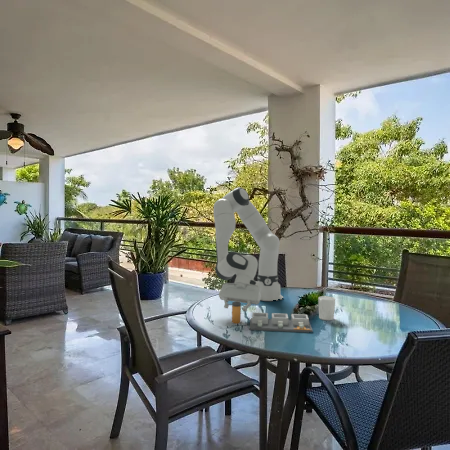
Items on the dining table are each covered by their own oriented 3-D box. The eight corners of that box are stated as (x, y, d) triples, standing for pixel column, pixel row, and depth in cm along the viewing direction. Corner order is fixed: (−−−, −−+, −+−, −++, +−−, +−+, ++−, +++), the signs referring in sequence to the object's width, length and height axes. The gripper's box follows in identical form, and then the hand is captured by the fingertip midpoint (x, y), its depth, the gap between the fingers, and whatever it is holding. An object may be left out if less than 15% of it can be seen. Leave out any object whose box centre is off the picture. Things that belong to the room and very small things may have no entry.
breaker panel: (250, 320, 170) (250, 311, 170) (308, 322, 167) (308, 314, 167) (249, 329, 156) (249, 320, 156) (312, 332, 153) (312, 323, 153)
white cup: (334, 316, 177) (335, 296, 176) (335, 321, 169) (335, 300, 169) (318, 315, 179) (318, 295, 178) (317, 320, 171) (318, 299, 171)
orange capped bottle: (232, 320, 169) (232, 301, 168) (240, 321, 168) (241, 302, 168) (231, 323, 165) (231, 303, 164) (240, 323, 164) (240, 304, 164)
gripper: (222, 278, 177) (213, 302, 169) (261, 282, 169) (254, 308, 160) (225, 285, 182) (216, 309, 173) (264, 290, 173) (257, 315, 165)
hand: (235, 308), depth 167 cm, fingers open, 8 cm apart
